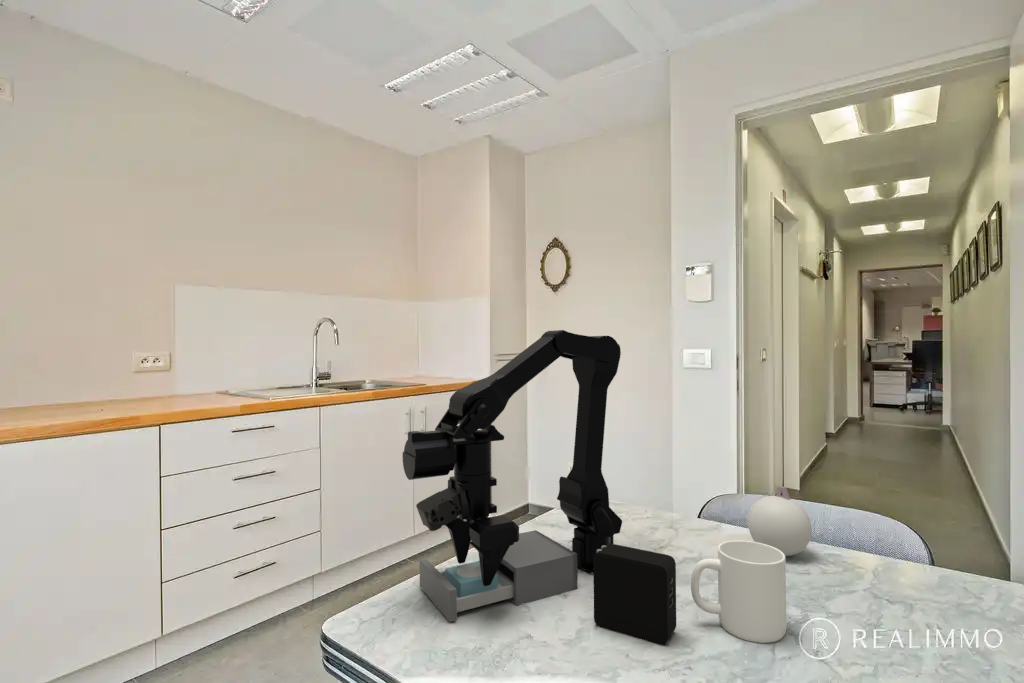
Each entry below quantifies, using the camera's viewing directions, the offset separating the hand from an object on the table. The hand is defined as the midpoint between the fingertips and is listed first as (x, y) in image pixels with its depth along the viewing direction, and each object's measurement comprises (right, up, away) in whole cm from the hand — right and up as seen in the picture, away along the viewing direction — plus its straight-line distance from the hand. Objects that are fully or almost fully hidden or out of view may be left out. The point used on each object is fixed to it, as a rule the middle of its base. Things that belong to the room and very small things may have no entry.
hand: (473, 573), depth 81 cm
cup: (+36, -3, -10) cm, 38 cm away
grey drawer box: (+8, -3, +4) cm, 10 cm away
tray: (0, -3, 0) cm, 3 cm away
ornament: (+54, -3, +15) cm, 57 cm away
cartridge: (0, -2, 0) cm, 2 cm away
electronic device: (+22, -3, -10) cm, 25 cm away
